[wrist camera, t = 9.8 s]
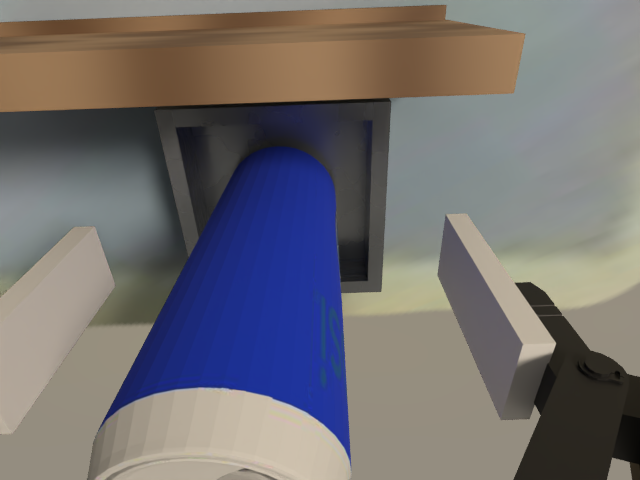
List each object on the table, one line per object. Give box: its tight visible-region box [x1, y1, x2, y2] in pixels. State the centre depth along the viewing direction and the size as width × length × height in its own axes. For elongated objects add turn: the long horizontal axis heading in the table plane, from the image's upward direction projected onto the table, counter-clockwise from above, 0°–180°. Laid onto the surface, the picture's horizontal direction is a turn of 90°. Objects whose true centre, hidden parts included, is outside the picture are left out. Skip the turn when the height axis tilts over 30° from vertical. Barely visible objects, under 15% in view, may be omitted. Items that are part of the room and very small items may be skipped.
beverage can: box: [87, 146, 351, 480], centre depth 14 cm, size 5×5×15 cm
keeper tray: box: [154, 98, 391, 293], centre depth 20 cm, size 9×9×2 cm
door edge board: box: [0, 5, 525, 112], centre depth 14 cm, size 18×2×8 cm, turn 92°
